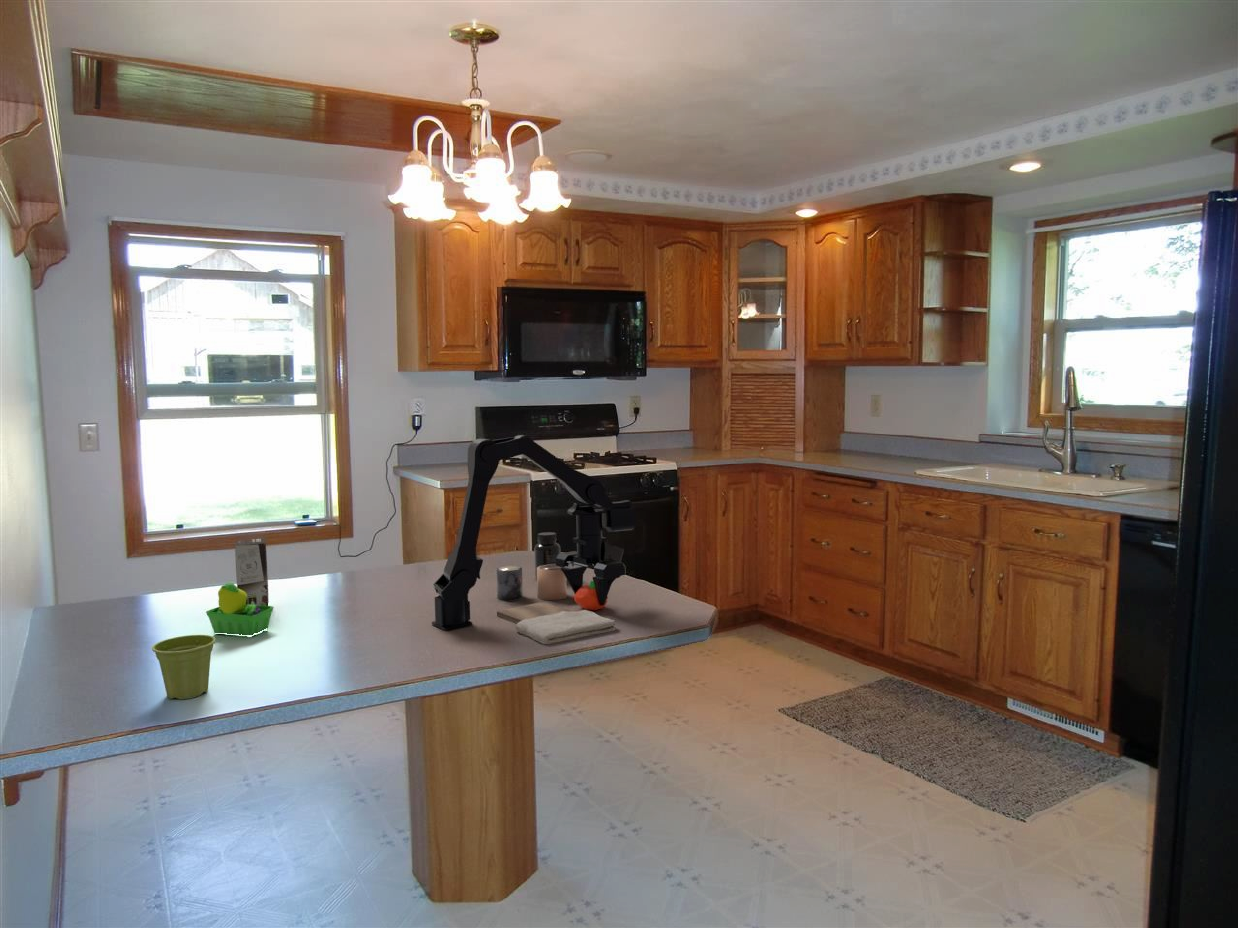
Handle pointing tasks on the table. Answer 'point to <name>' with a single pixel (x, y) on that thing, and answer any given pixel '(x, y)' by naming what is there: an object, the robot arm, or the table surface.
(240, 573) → the coffee box
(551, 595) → the terracotta cup
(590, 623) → the washcloth
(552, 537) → the supplement bottle
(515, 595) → the black metal can
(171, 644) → the plant pot
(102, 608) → the table surface
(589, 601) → the pumpkin
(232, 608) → the fruit basket
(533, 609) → the walnut board
